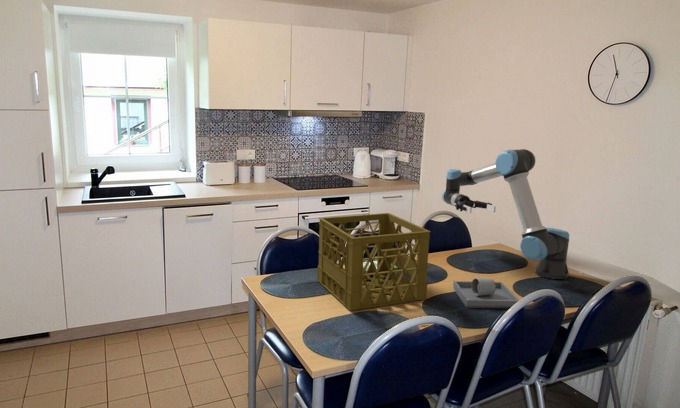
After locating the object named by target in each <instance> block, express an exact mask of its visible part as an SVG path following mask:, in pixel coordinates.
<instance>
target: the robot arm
mask: <svg viewBox="0 0 680 408" xmlns="http://www.w3.org/2000/svg"><path fill="white" fill-rule="evenodd" d="M535 165H536V156H535V154H534V153H533V152H532V151H530V150H529V149H526V148H525V149H524V148H523V149H522V148H520V149H506V150H503V151H501V152H500V153H499V154H498V155H497V156H496V158H495V163H492V164H488V165H485V166H482V167H479V168H476V169H473V170H470V171H465V172H463V171H462V170H461V169H456V168H455V169H452V168H451V169H448V170H447V171H446V173H447V174H446V182H445V190H444V191H443V192H442V194H441V199H442V201H443V202H444V203H446V204H447V205H451V206H453V207H455V209H456V211H460V212H463V211H465V212H466V213H468V214H472V208H473V209H476V208H478V209H479V208H480V209H486V210H487V211H490V212H492V213H496V206H494V205H493V203H490V202H485V201H479V200H472V199H471V198H470V197H469V196H468V195H464V194H462V193H460V191H461V187H463V186H473V185H474V186H475V185H477V184H478V183H481V182H485V181H488V180H491V179H496V178H499V177H503V179H504V181H505V182H507V183H508V185H509V188H510V190H511V193H512V194H511V195H512V197H513V198H512V199H513V200H514V204H515V207H516V210H517V213H518V216H519V220H520V223H521V225H522V229H523V231H522V233H521V236H522V239H521V242H520V248H519V249H520V251H521V253H522V254H523V255H524V257H525V258H527V259H529V260H531V261H538V262H537V265H536V267H535V271H534V272H535V275H536V276H537V275H538V277H541V278H544V277H545V278H544V279H548V278H551V279H550V280H554V279H564V278H567V277H568V278H569V269H568V268H569V267H568V264H567V258H568V257H567V256H568V250H569V242H570V233H569V232H568V231H567V230H563V229H559V228H554V227H546V226H544V225H543V224H542V221H541V218H540V215H539V212H538V208H537V205H536V202H535V198H534V196H533V192H532V189H531V186H530V183H529V180H528V176H529V174H530V171H531V170H533V168H534V167H535ZM568 278H567V279H568ZM564 280H565V279H564Z"/></svg>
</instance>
